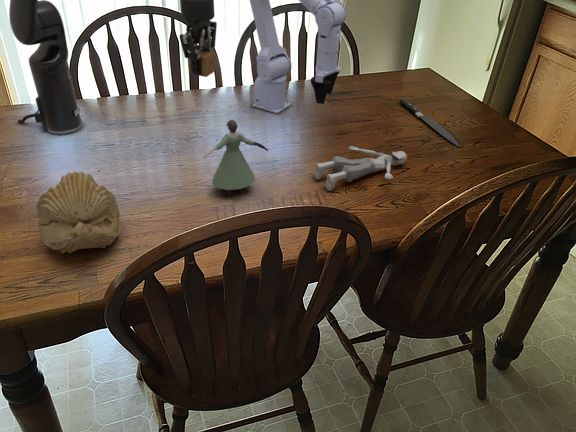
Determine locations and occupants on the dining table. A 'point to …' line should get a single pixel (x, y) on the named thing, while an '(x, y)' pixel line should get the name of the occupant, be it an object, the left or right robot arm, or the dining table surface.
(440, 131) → the knife
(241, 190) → the character figurine
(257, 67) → the right robot arm
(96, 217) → the fossil
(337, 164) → the figurine
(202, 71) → the brown cube-like block
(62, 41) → the left robot arm
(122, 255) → the dining table surface
